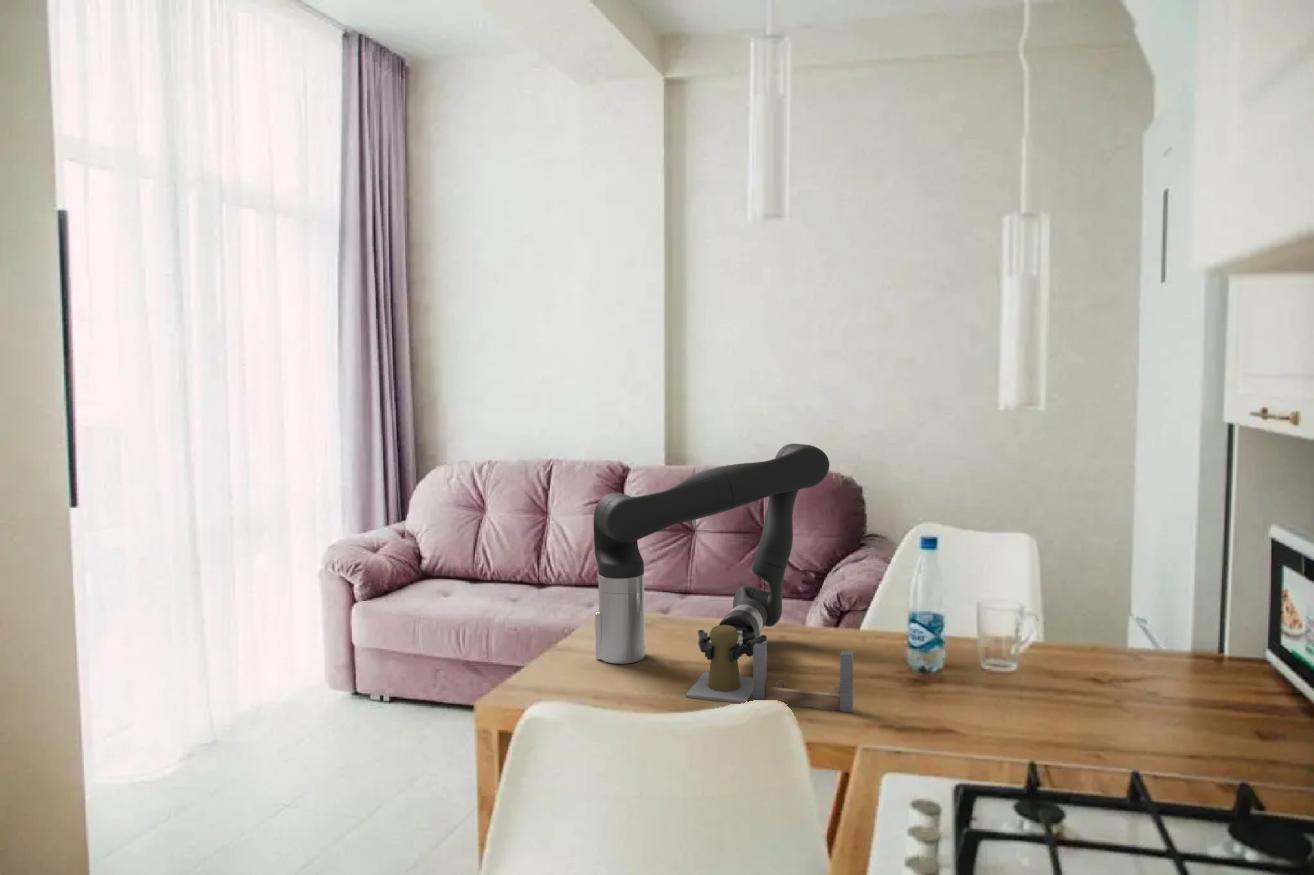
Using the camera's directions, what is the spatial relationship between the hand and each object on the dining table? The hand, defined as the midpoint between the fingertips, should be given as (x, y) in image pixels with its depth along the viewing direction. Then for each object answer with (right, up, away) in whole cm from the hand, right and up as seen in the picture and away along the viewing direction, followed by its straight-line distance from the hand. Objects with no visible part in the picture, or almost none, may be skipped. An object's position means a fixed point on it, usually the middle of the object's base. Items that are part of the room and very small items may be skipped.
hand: (720, 655), depth 167 cm
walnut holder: (+15, -7, -2) cm, 17 cm away
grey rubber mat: (+1, -7, +3) cm, 8 cm away
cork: (+1, -6, +3) cm, 7 cm away
